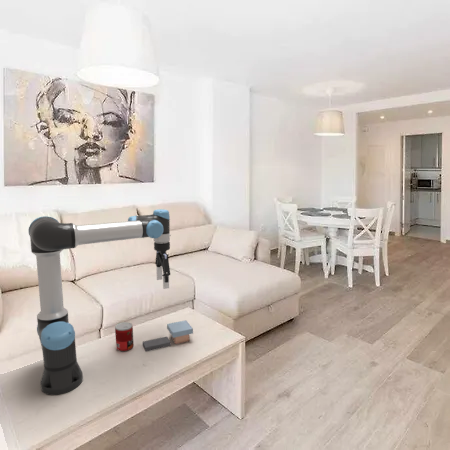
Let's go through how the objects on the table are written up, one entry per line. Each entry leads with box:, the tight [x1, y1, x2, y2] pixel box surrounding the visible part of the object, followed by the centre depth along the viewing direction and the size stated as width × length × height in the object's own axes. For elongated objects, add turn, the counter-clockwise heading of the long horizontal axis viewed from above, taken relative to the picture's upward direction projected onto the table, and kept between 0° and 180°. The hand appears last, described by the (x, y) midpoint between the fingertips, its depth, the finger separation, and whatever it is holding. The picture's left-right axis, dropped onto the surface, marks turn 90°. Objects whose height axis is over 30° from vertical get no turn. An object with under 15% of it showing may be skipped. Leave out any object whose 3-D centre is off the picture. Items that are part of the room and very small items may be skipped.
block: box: [142, 336, 172, 352], centre depth 166 cm, size 12×6×2 cm, turn 115°
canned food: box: [114, 321, 134, 352], centre depth 164 cm, size 8×8×11 cm
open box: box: [170, 334, 190, 345], centre depth 171 cm, size 7×7×4 cm
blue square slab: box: [166, 320, 194, 338], centre depth 171 cm, size 10×10×2 cm
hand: (162, 283), depth 171 cm, fingers open, 13 cm apart
